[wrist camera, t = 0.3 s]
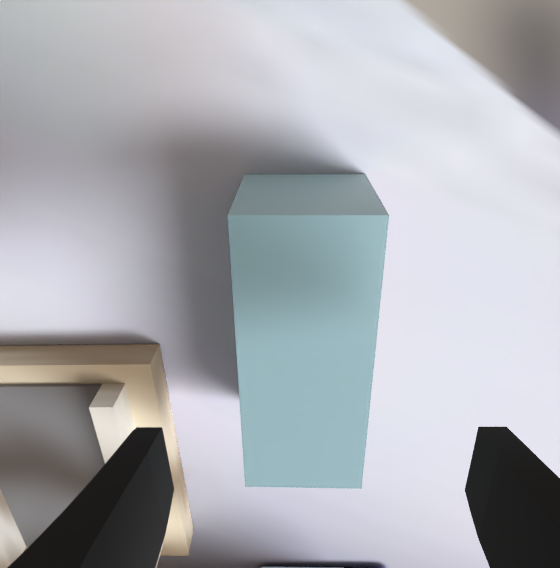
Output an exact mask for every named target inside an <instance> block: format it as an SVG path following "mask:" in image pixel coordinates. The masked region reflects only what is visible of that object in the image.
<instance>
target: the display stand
mask: <svg viewBox="0 0 560 568" xmlns="http://www.w3.org/2000/svg"><path fill="white" fill-rule="evenodd" d="M136 427H162V429H163V434H164V439H165V444H166V449H167V454H168V460H169V465H170V470H171V475H172V480H173V485H174V493H173V498H172V504H171V509H170V514H169V519H168V524H167V529H166V534H165V537H164V541H163V544H162V547H161V551H160V554H159V557H158V561H159V558H160V556H188V554H189V550H190V545H191V540H192V536H193V531H194V530H193V524H192V519H191V513H190V508H189V503H188V497H187V492H186V486H185V481H184V475H183V470H182V464H181V459H180V453H179V448H178V443H177V437H176V432H175V426H174V421H173V415H172V410H171V404H170V399H169V394H168V388H167V383H166V377H165V372H164V366H163V361H162V355H161V350H160V345H159V344H120V345H27V346H0V568H7V567H8V566H10V565H11V564H12V563H13V562H14V561H15V560H16V559H17V558H18V557H19V556H20V555H21V554H22V553H23V552H24V551H25V550H26V549H27V548H28V547H29V546H30V545H31V544H32V543H33V542H34V541H35V540H36V539H37V538H38V537H39V536H40V535H41V534H42V533H43V532H44V531H45V530H46V528H47V527H48V526H49V525H50V524H51V523H52V522H53V521H54V520H55V519H56V518H57V517H58V516H59V515H60V514H61V513H62V512H63V511H64V510H65V509H66V508H67V506H68V505H69V504H70V503H71V502H72V501H73V500H74V499H75V497H76V496H77V495H78V494H79V493H80V492H81V491H82V490H83V489H84V487H85V486H86V485H87V484H88V483H89V482H90V481H91V480H92V478H93V477H94V476H95V475H96V474H97V473H98V471H99V470H100V469H101V468H102V467H103V466H104V464H105V463H106V462H107V461H108V460H109V458H110V457H111V456H112V455H113V454H114V453H115V451H116V450H117V449H118V448H119V447H120V445H121V444H122V443H123V442H124V441H125V439H126V438H127V437H128V436H129V435H130V433H131V432H132V431H133V430H134V429H135V428H136ZM158 561H157V564H156V567H155V568H157V565H158Z"/></svg>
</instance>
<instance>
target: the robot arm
mask: <svg viewBox="0 0 560 568" xmlns="http://www.w3.org/2000/svg"><path fill="white" fill-rule="evenodd" d="M465 492H466V496H467V500H468V503H469V507H470V511H471V515H472V518H473V522H474V525H475V528H476V532H477V535H478V538H479V541H480V543H481V546H482V549H483V551H484V554H485V556H486V559H487V561H488V564H489V566H490V568H560V478H559V477H558V476H557V475H556V474H554V473H553V472H552V471H551V470H550V469H549V468H548V467H547V466H546V465H545V464H544V463H543V462H542V461H541V460H540V459H539V458H538V457H537V456H536V455H535V454H534V453H533V452H532V451H531V450H530V449H529V448H528V447H527V446H526V445H525V444H524V443H523V442H522V441H521V440H520V439H518V438H517V437H516V436H515V435H514V434H513V433H512V432H511V431H510V430H509V429H508V428H507V427H478V432H477V437H476V441H475V446H474V451H473V455H472V460H471V465H470V469H469V474H468V478H467V483H466V488H465ZM173 493H174V485H173V480H172V475H171V470H170V465H169V460H168V454H167V449H166V444H165V439H164V434H163V429H162V427H136V428H135V429H134V430H133V431H132V432H131V433H130V435H129V436H128V437H127V438H126V439H125V441H124V442H123V443H122V444H121V445H120V447H119V448H118V449H117V450H116V451H115V453H114V454H113V455H112V456H111V457H110V458H109V460H108V461H107V462H106V463H105V464H104V466H103V467H102V468H101V469H100V470H99V471H98V473H97V474H96V475H95V476H94V477H93V478H92V480H91V481H90V482H89V483H88V484H87V485H86V486H85V487H84V489H83V490H82V491H81V492H80V493H79V494H78V495H77V496H76V497H75V499H74V500H73V501H72V502H71V503H70V504H69V505H68V506H67V508H66V509H65V510H64V511H63V512H62V513H61V514H60V515H59V516H58V517H57V518H56V519H55V520H54V521H53V522H52V523H51V524H50V525H49V526H48V527H47V528H46V530H45V531H44V532H43V533H42V534H41V535H40V536H39V537H38V538H37V539H36V540H35V541H34V542H33V543H32V544H31V545H30V546H29V547H28V548H27V549H26V550H25V551H24V552H23V553H22V554H21V555H20V556H19V557H18V558H17V559H16V560H15V561H14V562H13V563H12V564H11V565H10V566H8V567H7V568H155V567H156V564H157V561H158V557H159V554H160V551H161V547H162V544H163V541H164V537H165V534H166V529H167V524H168V519H169V514H170V509H171V504H172V498H173ZM261 568H342V567H261Z"/></svg>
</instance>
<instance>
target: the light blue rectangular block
mask: <svg viewBox="0 0 560 568" xmlns="http://www.w3.org/2000/svg"><path fill="white" fill-rule="evenodd" d="M227 217H228V232H229V247H230V262H231V277H232V293H233V308H234V323H235V338H236V354H237V369H238V384H239V399H240V415H241V430H242V445H243V460H244V476H245V487H303V488H361V487H362V477H363V467H364V457H365V448H366V438H367V428H368V418H369V408H370V398H371V388H372V378H373V368H374V358H375V348H376V338H377V329H378V319H379V309H380V299H381V289H382V279H383V269H384V259H385V249H386V239H387V229H388V219H389V215H388V213H387V211H386V209H385V208H384V206H383V204H382V202H381V201H380V199H379V197H378V195H377V194H376V192H375V190H374V188H373V187H372V185H371V183H370V181H369V180H368V178H367V176H366V174H244V176H243V179H242V181H241V184H240V186H239V189H238V191H237V193H236V196H235V198H234V201H233V203H232V206H231V208H230V210H229V213H228V215H227Z"/></svg>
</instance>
